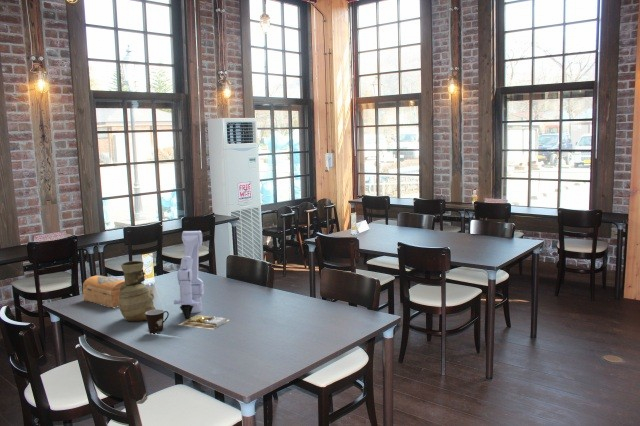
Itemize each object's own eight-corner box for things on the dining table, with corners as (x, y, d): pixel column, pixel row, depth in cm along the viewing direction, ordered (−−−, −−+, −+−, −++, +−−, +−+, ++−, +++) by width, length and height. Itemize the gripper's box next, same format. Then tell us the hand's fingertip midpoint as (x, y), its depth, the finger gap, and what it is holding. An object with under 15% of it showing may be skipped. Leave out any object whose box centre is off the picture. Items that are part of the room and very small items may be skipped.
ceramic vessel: (162, 311, 315) (158, 257, 311) (152, 323, 294) (148, 266, 290) (127, 312, 315) (123, 258, 311) (115, 325, 294) (110, 267, 290)
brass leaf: (187, 323, 290) (186, 318, 289) (196, 318, 297) (196, 314, 297) (199, 324, 287) (199, 320, 287) (208, 319, 294) (208, 315, 294)
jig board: (177, 326, 288) (177, 322, 288) (195, 317, 302) (195, 313, 301) (213, 331, 280) (212, 327, 279) (229, 321, 293) (229, 317, 293)
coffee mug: (148, 336, 276) (147, 315, 274) (145, 331, 283) (143, 311, 282) (173, 331, 281) (171, 311, 280) (169, 326, 289) (167, 307, 287)
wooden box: (137, 302, 335) (136, 278, 333) (112, 309, 322) (110, 285, 320) (108, 294, 353) (106, 272, 351) (83, 301, 341) (81, 278, 339)
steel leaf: (203, 325, 286) (203, 320, 285) (213, 320, 293) (212, 315, 293) (216, 327, 283) (216, 322, 282) (225, 322, 290) (225, 317, 290)
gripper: (169, 293, 292) (171, 319, 294) (192, 296, 286) (194, 322, 288) (178, 290, 298) (179, 315, 300) (201, 292, 292) (202, 318, 294)
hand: (187, 318), depth 294 cm, fingers closed
